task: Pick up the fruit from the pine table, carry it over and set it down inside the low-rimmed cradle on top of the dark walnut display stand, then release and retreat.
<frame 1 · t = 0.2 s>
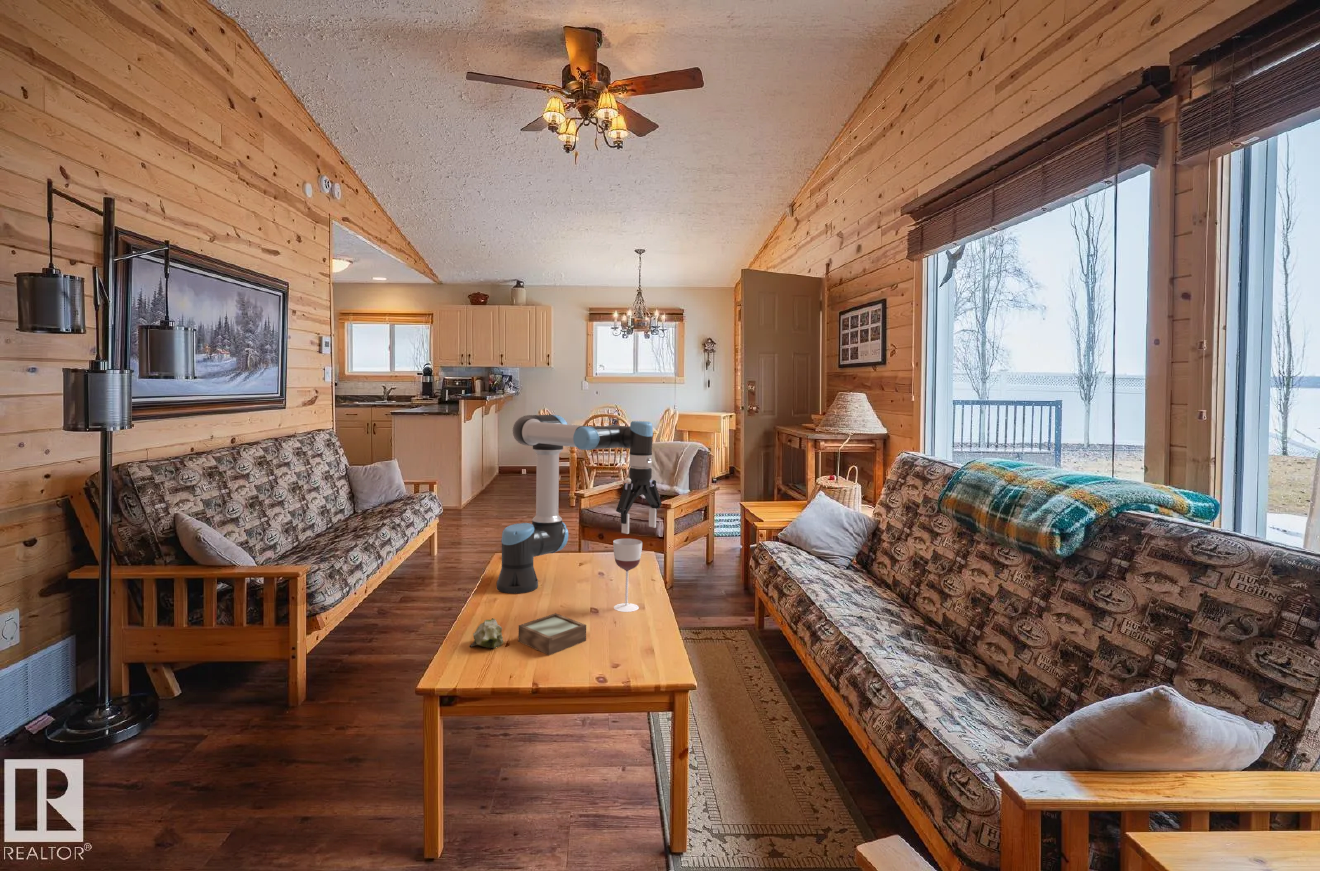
hand: (639, 530, 204), 28 cm above the table, fingers open, 13 cm apart
fruit: (488, 645, 176), on the table
wineglass: (626, 607, 210), on the table
display stand: (552, 640, 179), on the table
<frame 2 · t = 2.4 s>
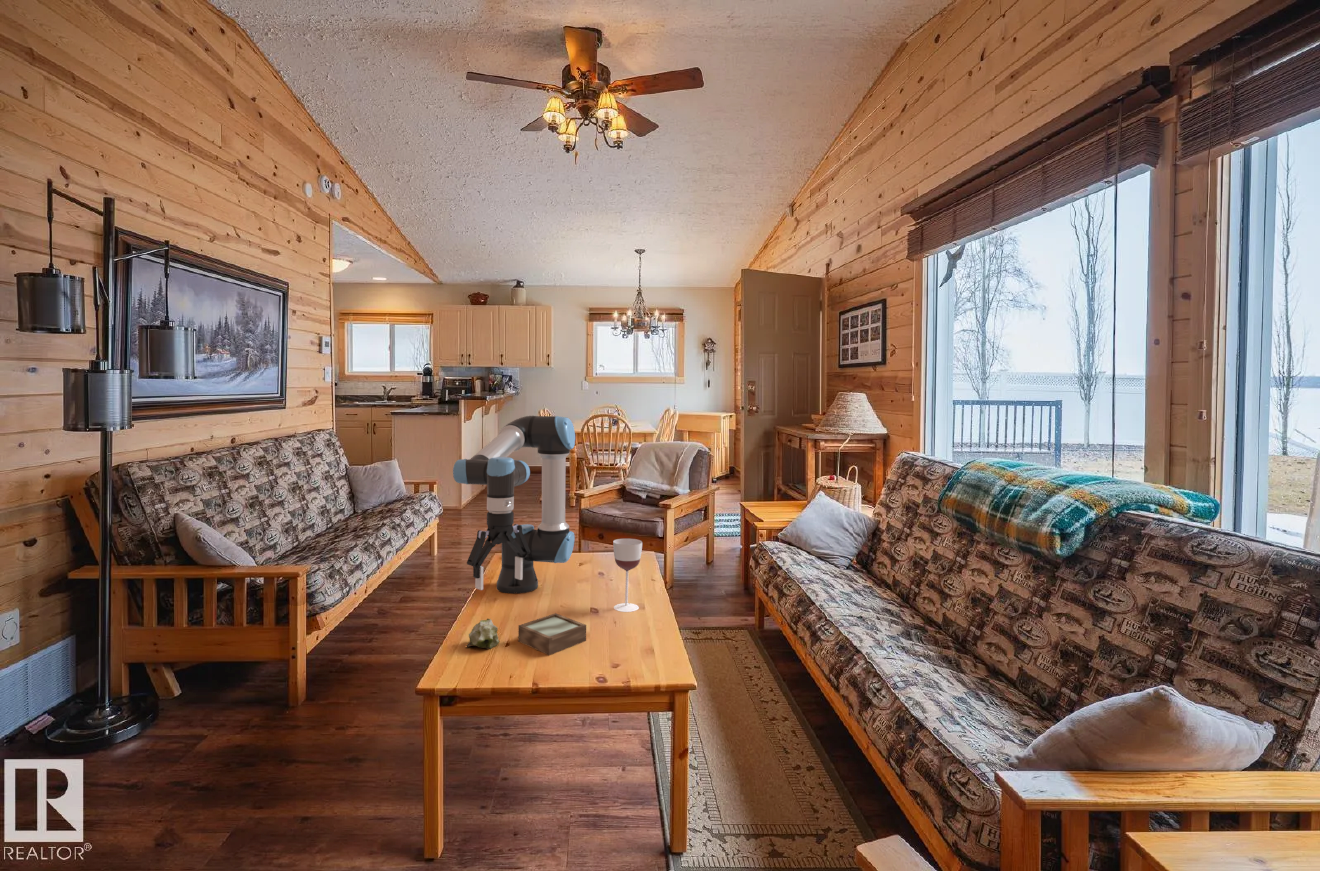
hand: (499, 583, 176), 18 cm above the table, fingers open, 13 cm apart
fruit: (484, 646, 175), on the table
everything else where it was.
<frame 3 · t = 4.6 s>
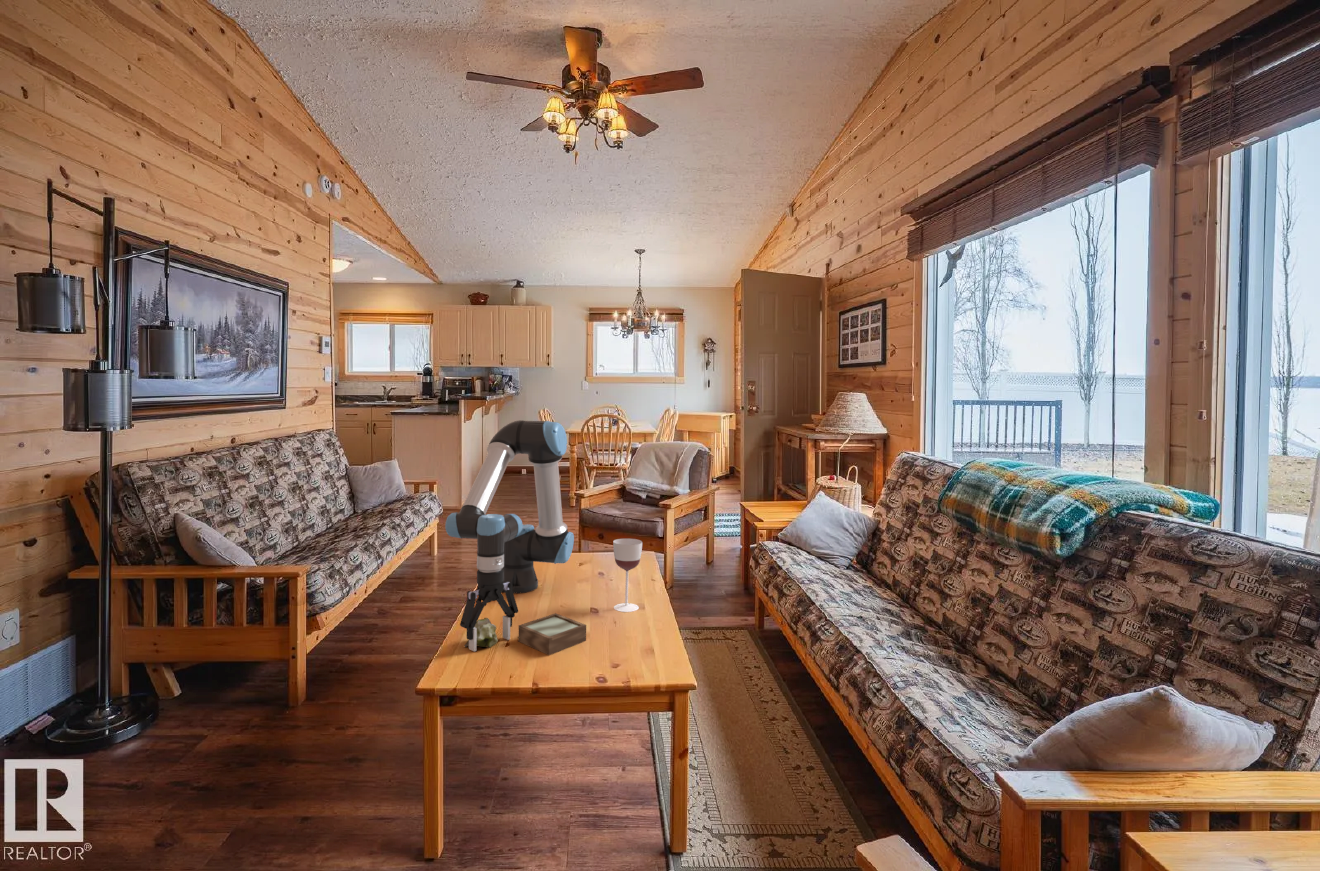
hand: (489, 643, 176), 0 cm above the table, fingers open, 11 cm apart
fruit: (483, 645, 176), on the table, touching gripper
everything else where it was.
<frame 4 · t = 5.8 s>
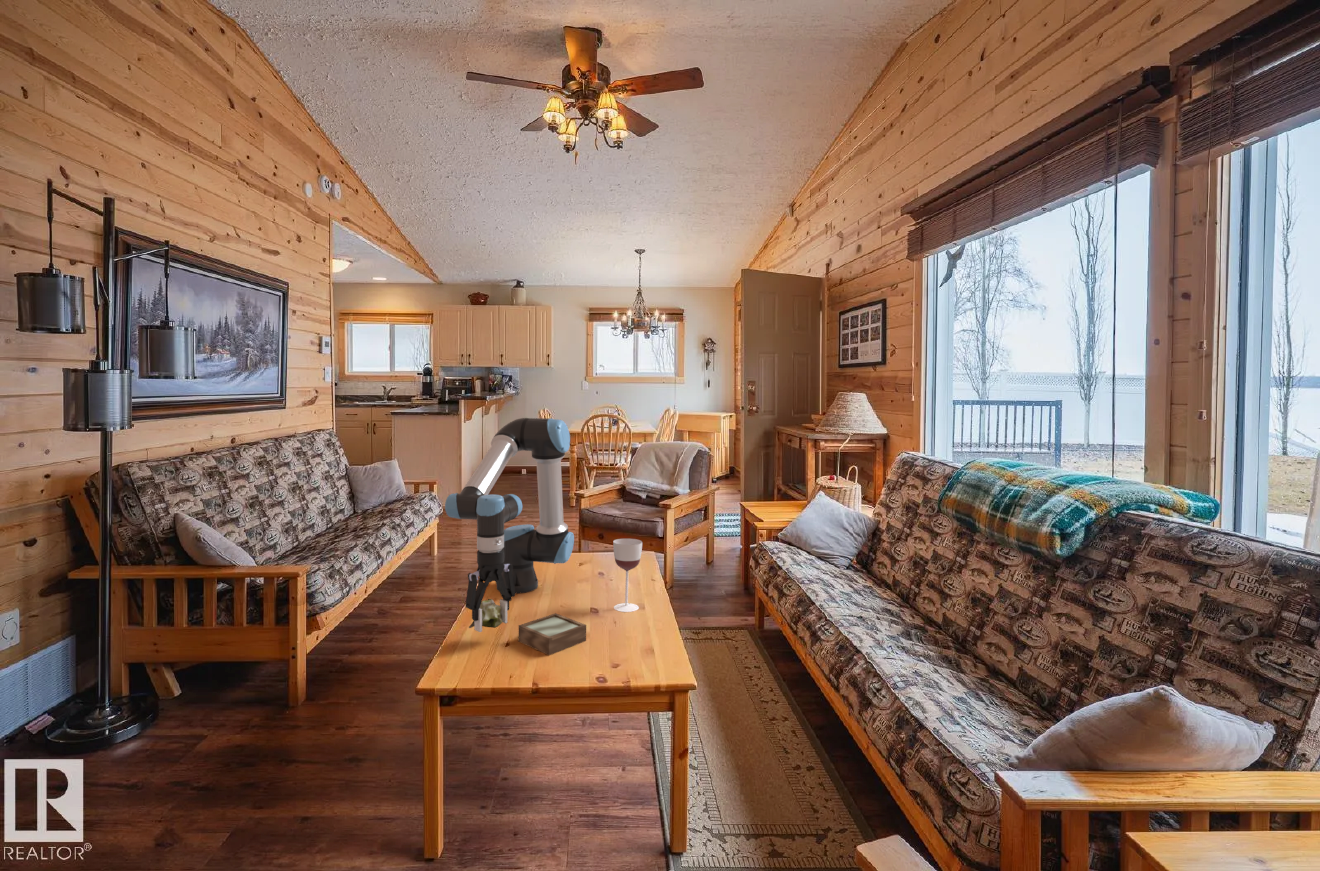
hand: (491, 625, 176), 5 cm above the table, fingers closed on fruit, 8 cm apart
fruit: (487, 625, 178), point 5 cm above the table, touching gripper
everything else where it was.
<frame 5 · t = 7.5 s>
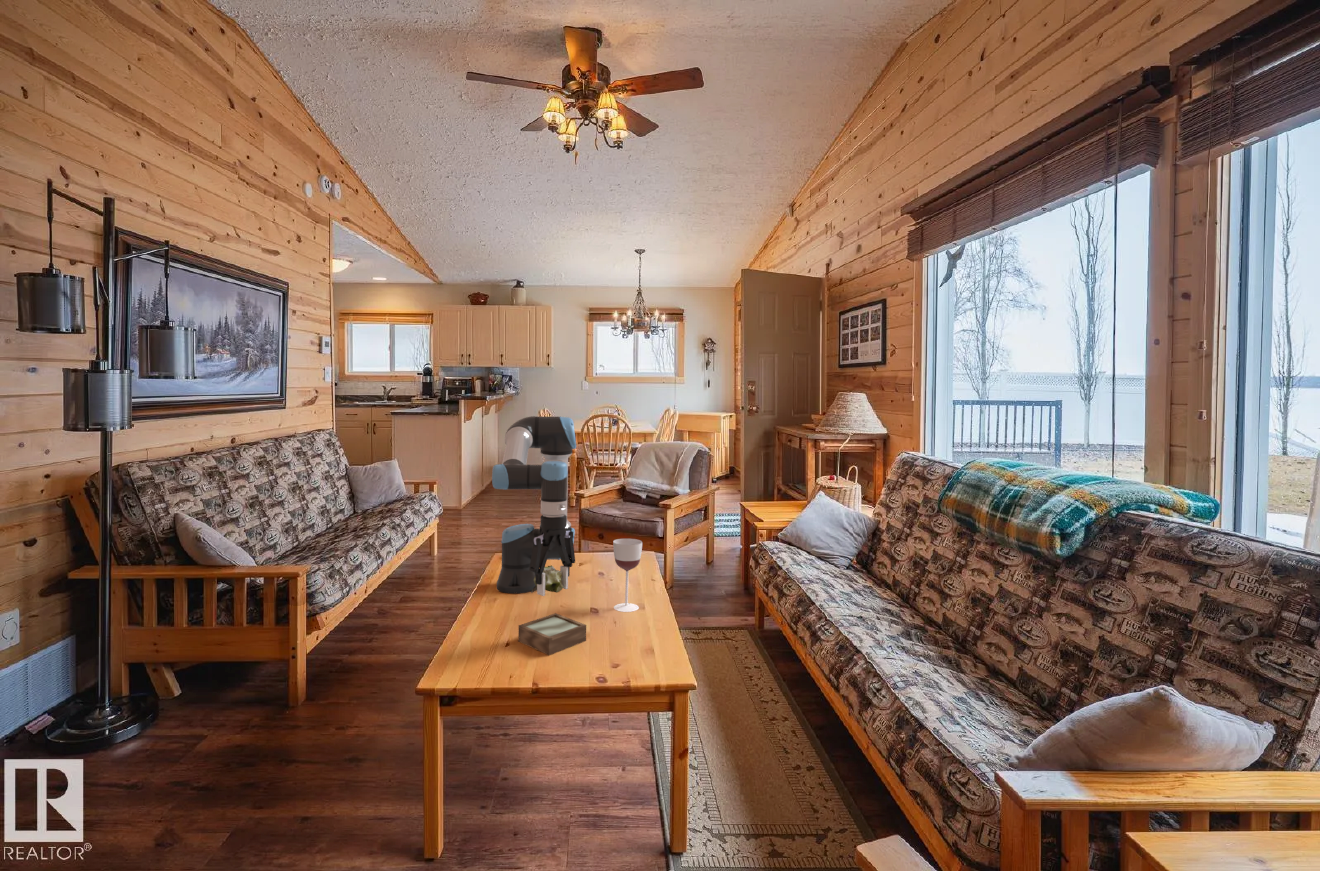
hand: (552, 591, 178), 15 cm above the table, fingers closed on fruit, 8 cm apart
fruit: (548, 591, 180), point 15 cm above the table, touching gripper
everything else where it was.
when the fingers open (6 cm above the table, at t = 9.6 s): fruit drops 1 cm, resting on display stand.
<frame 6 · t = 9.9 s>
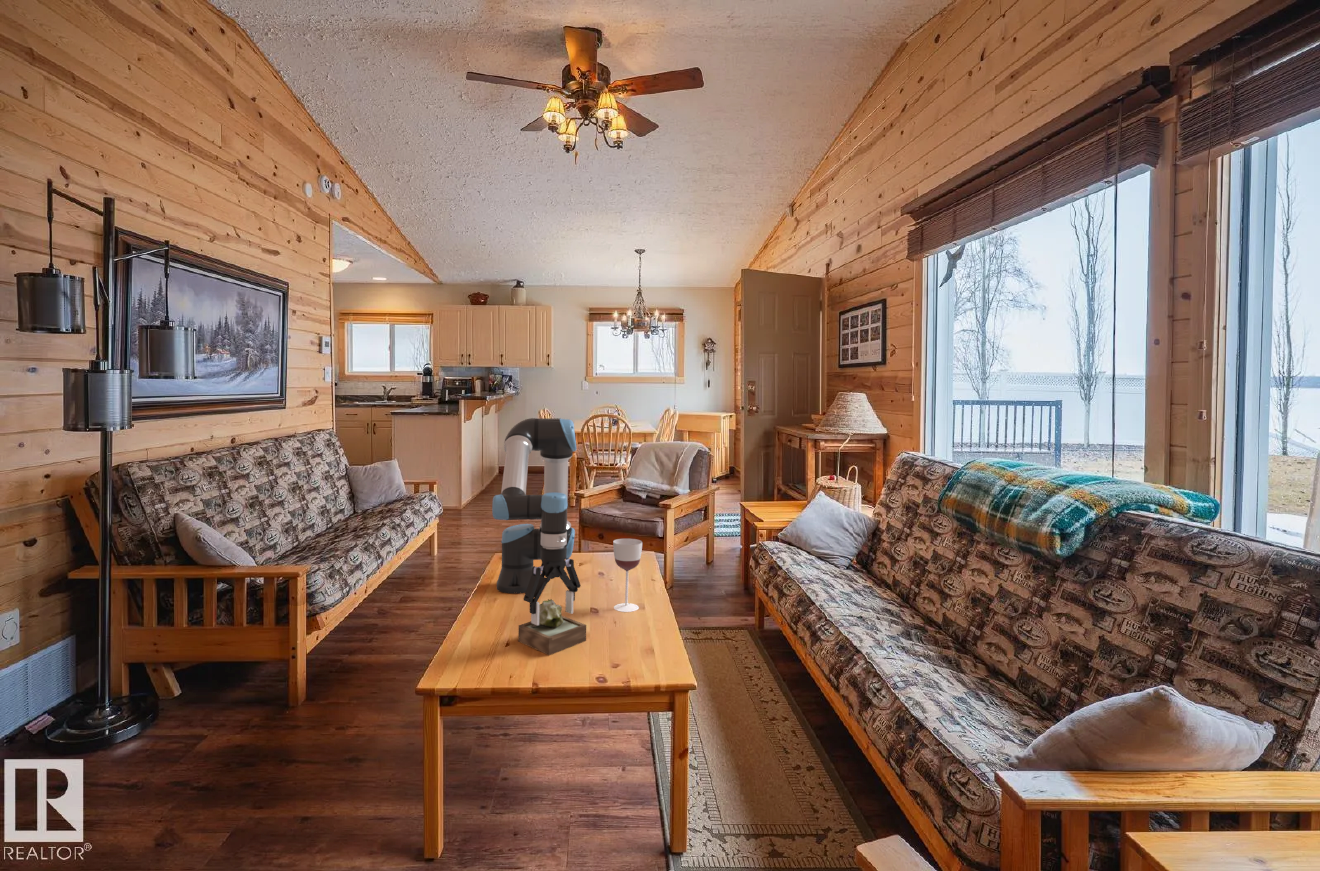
hand: (552, 618, 179), 7 cm above the table, fingers open, 12 cm apart
fruit: (548, 625, 181), point 4 cm above the table, touching display stand
everything else where it was.
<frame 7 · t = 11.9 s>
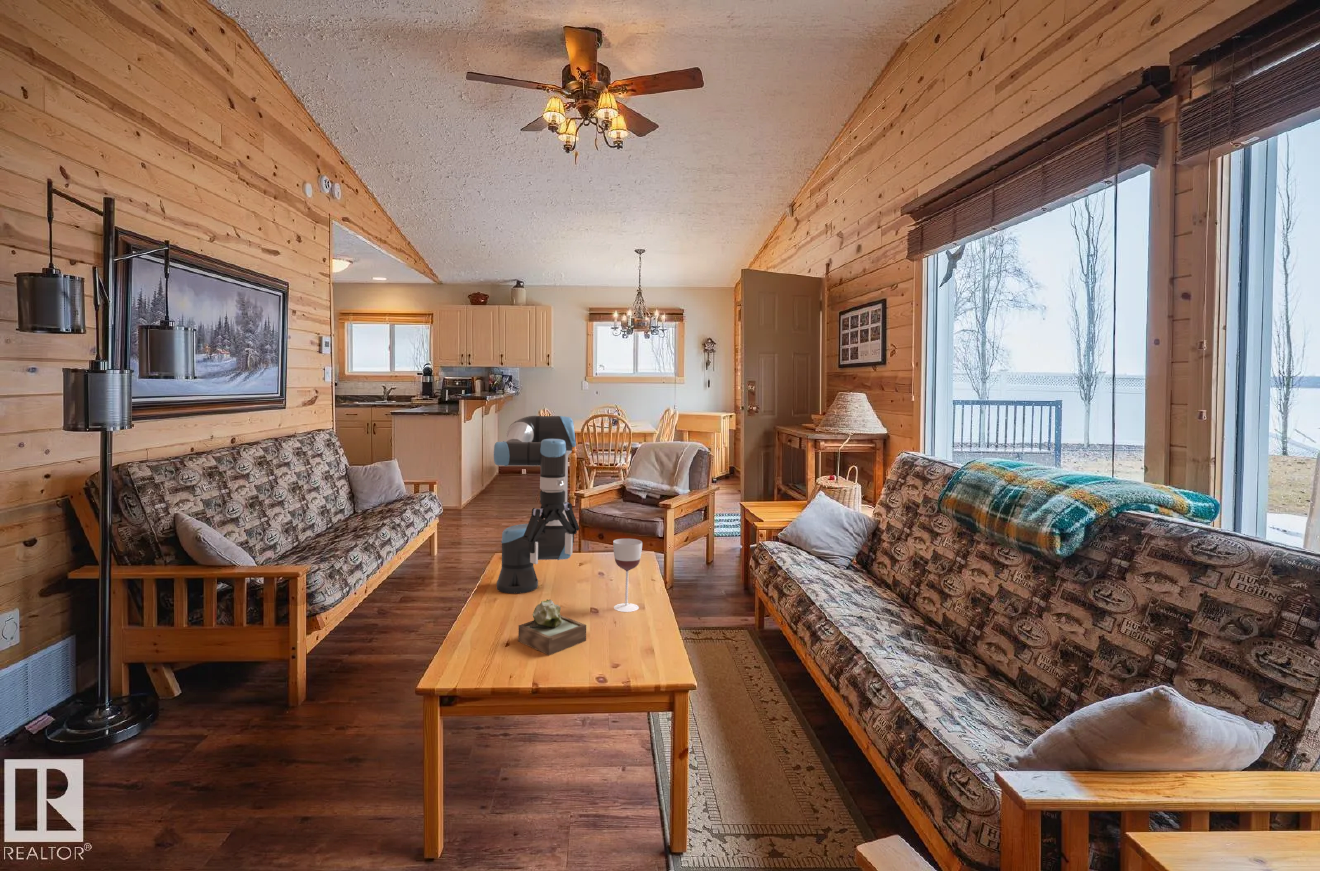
hand: (551, 558, 186), 23 cm above the table, fingers open, 13 cm apart
nothing on the table moved.
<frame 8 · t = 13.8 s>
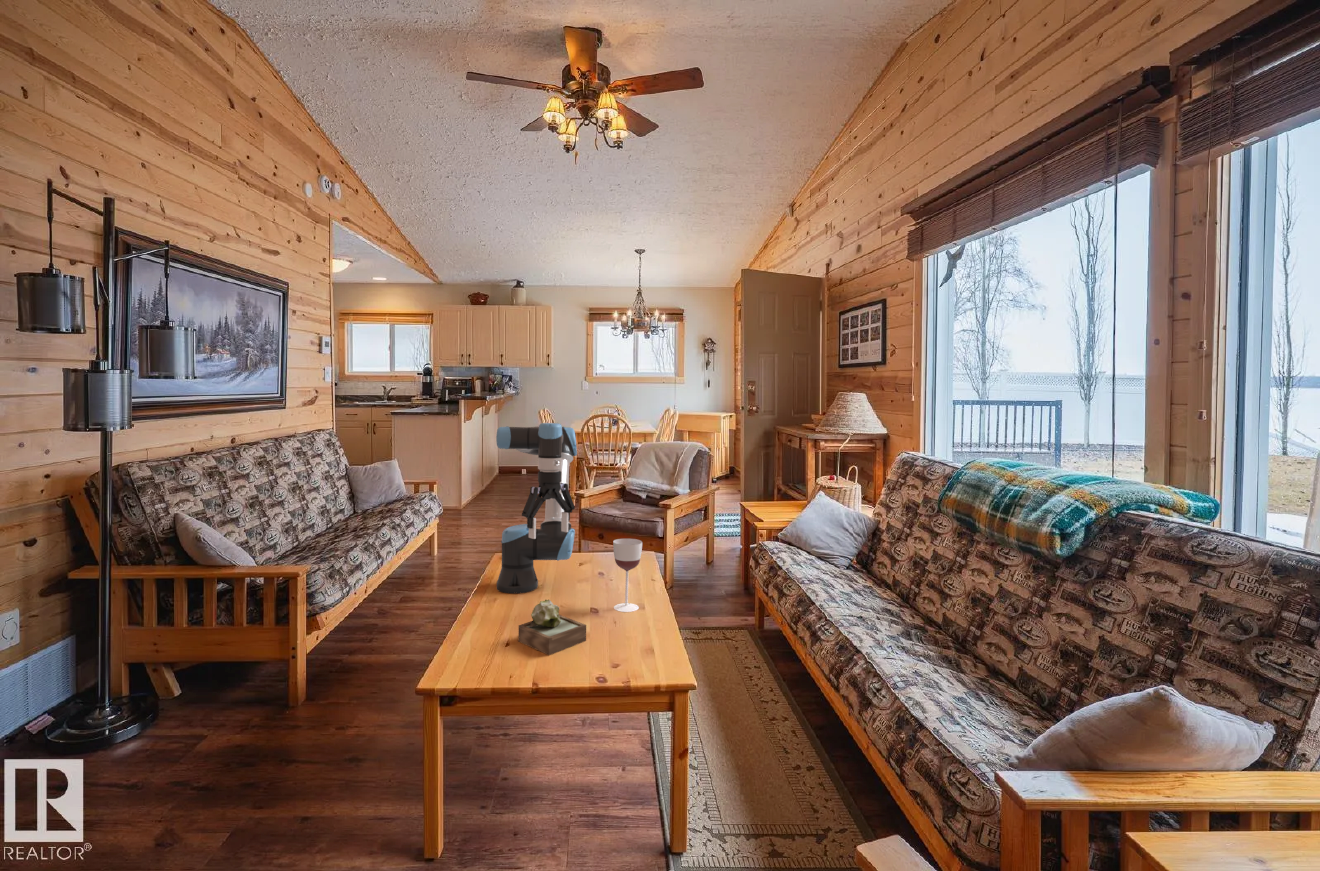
hand: (548, 534, 199), 27 cm above the table, fingers open, 13 cm apart
nothing on the table moved.
at the end: fruit 2.4 cm from the display stand (horizontally); fruit inside the target area on the display stand (2.5 cm from its centre), point 4.1 cm above the display stand's base; the gripper is holding nothing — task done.
